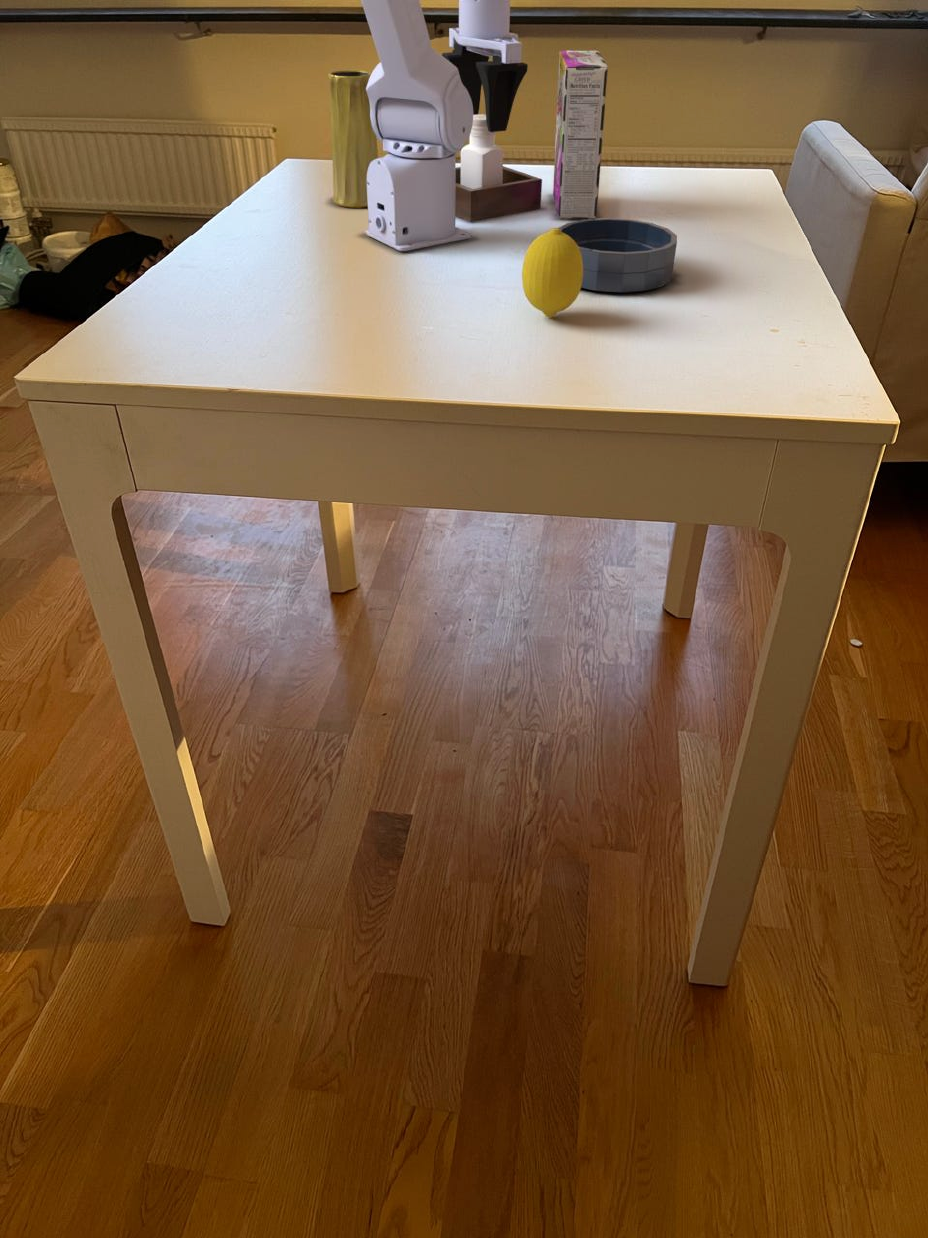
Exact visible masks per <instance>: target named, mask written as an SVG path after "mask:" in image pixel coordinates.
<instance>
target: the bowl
mask: <svg viewBox="0 0 928 1238" xmlns="http://www.w3.org/2000/svg"><path fill="white" fill-rule="evenodd" d="M557 228H558V229H559V230H560V231H561V232H562V233H564V234H566V235H568V236H569V237H571V238H572V239H573V240H574V241H575V242H576V244H577V245H578V247H579V249H580V252H581V256H582V261H583V280H582V286H581V289H586V290H592V291H596V292H604V293H605V292H606V293H633V292H644V291H645V292H646V291H649V290H653V289H657V288H661V287H663V286H665V285H666V284H667V283H669V282H670V281H672V280H673V275H674V266H675V261H676V253H677V252H676V251H677V245H678V235H677V234H676V233H675V232H674V231H672V230H671V229H669V228H668V227H665V226H661V225H659V224H656V223H654V222H648V221H642V220H636V219H630V218H617V217H616V218H615V217H603V218H602V217H600V218H598V217H597V218H596V219H583V220H575V221H571V222H567V223H565V224H563V225H561V226H559V227H557Z"/></svg>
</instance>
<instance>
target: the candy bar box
mask: <svg viewBox="0 0 928 1238" xmlns="http://www.w3.org/2000/svg"><path fill="white" fill-rule="evenodd" d="M558 57H559V60H558V76H557V98H556V99H557V101H556V117H555V118H556V119H555V121H556V123H555V143H554V164H553V186H552V188H553V189H552V195H553V196H552V197H553V200H554V205H555V209H556V213H557V218H558V219H559V220H564V221H565V220H568V221H569V220H571V221H573V220H575V221H579V220H584V219H598V217H597V216H598V204H599V203H598V202H599V191H600V179H601V176H600V175H601V166H602V165H601V164H602V148H603V138H604V137H603V136H604V125H605V124H604V123H605V113H606V95H607V84H608V83H607V82H608V72H609V66H608V65H607V63H606V61H605V60H604V58H603V56H602V55H601V52H600V51H599V50H583V49H580V50H579V49H577V50H572V49H568V50H561V51H559V56H558Z"/></svg>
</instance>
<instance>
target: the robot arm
mask: <svg viewBox="0 0 928 1238" xmlns="http://www.w3.org/2000/svg"><path fill="white" fill-rule="evenodd" d="M360 1H361V6H362V8H363V12H364V14H365V18H366V21H367V24H368V27H369V30H370V33H371V36H372V40H373V43H374V46H375V49H376V52H377V56H378V59H379V62H378V64H377V65H375V67H374V69H373V70H372V72H371V73H372V74H371V76H370V78H369V81H368V84H367V87H366V91H367V94H368V97H369V102H370V118H371V124H372V127H373V130H374V132H375V134H376V138H377V140H378V141H379V142H381V143H382V151H383V152H388V153H386V154H385V155H384V156H382V157H378V159H375V160H373V161H372V162H371V163H370V165H369V167H368V171H367V201H368V207H367V217H368V218H367V219H368V229H366V230H365V235H366V236H368V237H370V238H373V239H374V240H376V241H378V242H381V243H383V244H384V245H387V246H388V247H391V248H393V249H395V250H397V251H399V252H407V251H412V250H417V249H422V248H428V247H432V246H437V245H442V244H447V243H453V242H457V241H462V240H467V239H471V238H472V234H471V232H468V231H466V230H463V229H461V228H459V227H457V226H456V216H455V176H456V168H457V167H456V165H457V164H456V157H457V155H456V154H457V153H459V152H461V149H462V148H463V147H464V146H466V145H465V144H466V143H467V142H468V140H469V139H470V133H471V130H472V124H473V115H478V114H480V103H481V97H482V95H481V94H482V90H483V96H484V97H483V98H484V104H485V105H484V106H485V107H484V109H485V114H486V122H487V128H488V131H489V132H495V133H497V132H506V131H507V128H508V125H509V122H510V121H509V120H510V117H511V113H512V109H513V105H514V102H515V98H516V96H517V92H518V90H519V88H520V86H521V83H522V82H523V80H524V77H525V76H526V74H527V72H528V65H529V64H527V63H525V62H522V53H523V43H522V42H520V41H519V34H517V33H514V32H510V22H511V21H510V20H511V0H458V27H450V28H448V31H449V32H448V36H449V37H448V43H449V44H448V47H449V48H452V50H451V52H450V51H449V52H443V53H441V54H440V53H439V52H438V51H436V50H435V49H434V48H433V46H432V43H431V39H430V35H429V31H428V27H427V24H426V20H425V15H424V12H423V8H422V5H421V0H360ZM490 58H492V60H489V59H490Z"/></svg>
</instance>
